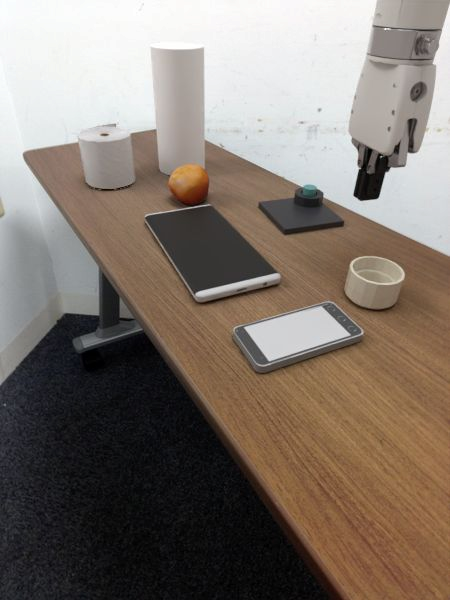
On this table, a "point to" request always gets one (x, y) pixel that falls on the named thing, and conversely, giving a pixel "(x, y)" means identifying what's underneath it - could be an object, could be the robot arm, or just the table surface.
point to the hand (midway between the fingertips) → (365, 197)
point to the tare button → (309, 190)
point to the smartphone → (296, 336)
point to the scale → (300, 213)
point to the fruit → (189, 184)
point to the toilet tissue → (107, 156)
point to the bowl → (374, 282)
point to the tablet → (210, 253)
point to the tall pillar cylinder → (179, 104)
